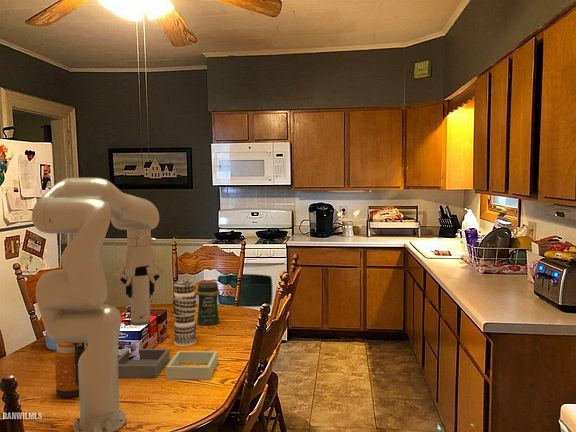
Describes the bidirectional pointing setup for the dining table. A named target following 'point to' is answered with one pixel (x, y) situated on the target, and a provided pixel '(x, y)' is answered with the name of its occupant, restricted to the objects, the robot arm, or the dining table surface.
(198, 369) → the sage crate
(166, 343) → the dining table surface
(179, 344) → the decorative candle
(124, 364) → the charcoal tray
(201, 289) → the coffee jar
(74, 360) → the canister
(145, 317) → the travel mug
